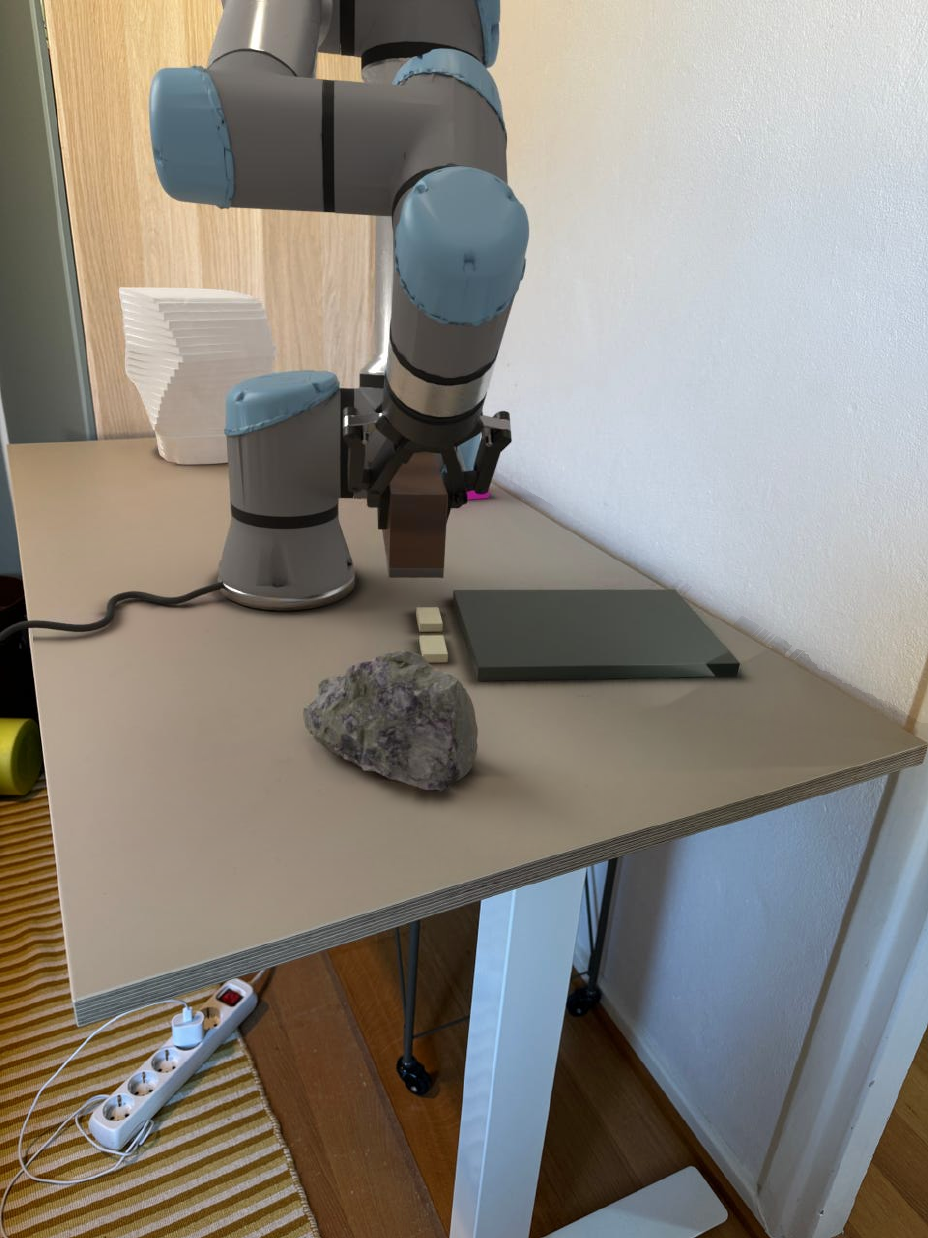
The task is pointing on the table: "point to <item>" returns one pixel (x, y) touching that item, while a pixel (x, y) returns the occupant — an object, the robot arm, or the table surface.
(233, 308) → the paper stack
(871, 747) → the table surface
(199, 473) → the table surface
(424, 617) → the cream rectangular block
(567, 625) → the slate board
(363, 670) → the mineral rock
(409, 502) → the block
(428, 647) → the cream flat block
